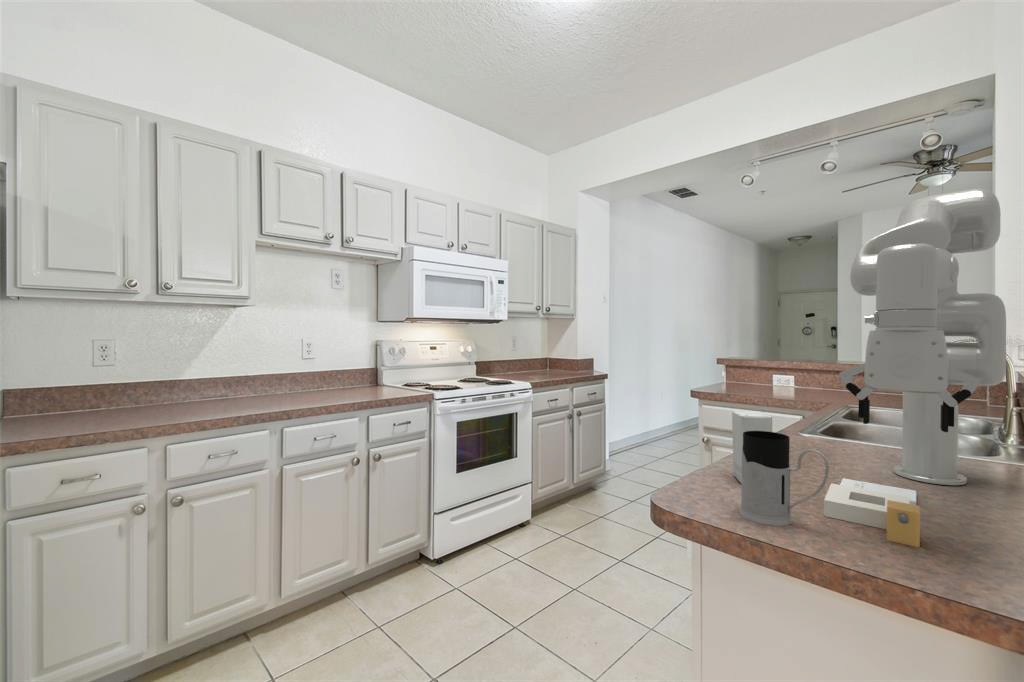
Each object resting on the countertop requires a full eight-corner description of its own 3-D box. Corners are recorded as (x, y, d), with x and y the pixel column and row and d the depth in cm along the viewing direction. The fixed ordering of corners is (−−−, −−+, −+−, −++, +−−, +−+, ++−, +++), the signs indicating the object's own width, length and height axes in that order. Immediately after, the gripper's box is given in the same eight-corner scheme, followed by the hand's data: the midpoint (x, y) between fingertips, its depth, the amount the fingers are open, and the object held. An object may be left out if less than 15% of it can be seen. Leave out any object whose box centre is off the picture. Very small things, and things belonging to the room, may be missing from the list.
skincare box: (774, 488, 98) (774, 417, 98) (741, 486, 100) (741, 416, 99) (760, 476, 107) (761, 410, 106) (730, 474, 108) (731, 409, 108)
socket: (831, 497, 93) (831, 483, 93) (908, 513, 85) (909, 497, 85) (823, 515, 84) (824, 499, 84) (910, 534, 76) (910, 516, 76)
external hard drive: (916, 509, 89) (838, 493, 97) (916, 497, 95) (843, 484, 103) (916, 500, 88) (838, 486, 97) (916, 490, 95) (843, 477, 103)
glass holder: (750, 503, 90) (750, 428, 90) (835, 526, 79) (836, 441, 79) (730, 514, 84) (731, 434, 84) (819, 541, 73) (820, 449, 73)
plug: (887, 532, 77) (887, 499, 77) (918, 538, 74) (919, 505, 74) (886, 543, 73) (886, 509, 73) (920, 551, 70) (920, 516, 70)
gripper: (837, 322, 76) (836, 423, 77) (985, 320, 65) (982, 438, 65) (841, 323, 82) (840, 417, 82) (977, 321, 71) (976, 430, 71)
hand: (903, 426), depth 74 cm, fingers open, 9 cm apart
